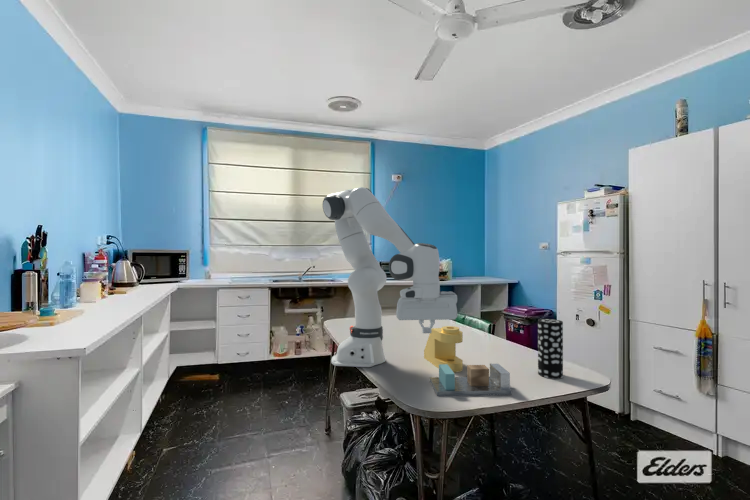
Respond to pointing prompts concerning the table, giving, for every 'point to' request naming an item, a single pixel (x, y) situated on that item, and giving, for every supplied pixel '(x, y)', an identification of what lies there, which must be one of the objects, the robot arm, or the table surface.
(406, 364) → the table surface
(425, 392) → the table surface
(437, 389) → the vise
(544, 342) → the white-spotted black cylinder
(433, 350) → the clamp
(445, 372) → the block
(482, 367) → the block
